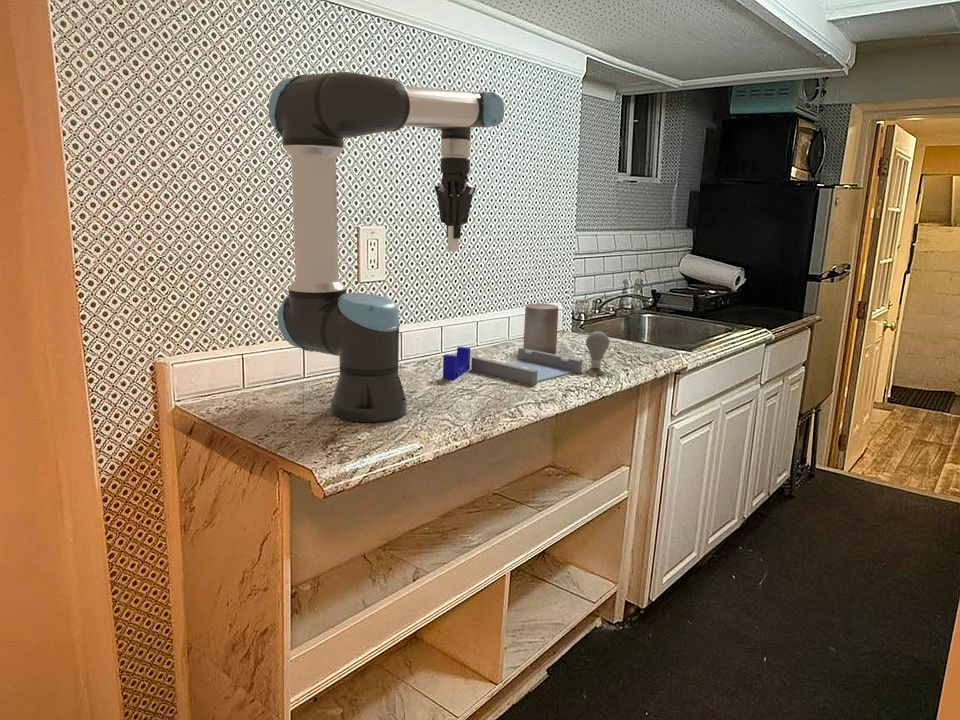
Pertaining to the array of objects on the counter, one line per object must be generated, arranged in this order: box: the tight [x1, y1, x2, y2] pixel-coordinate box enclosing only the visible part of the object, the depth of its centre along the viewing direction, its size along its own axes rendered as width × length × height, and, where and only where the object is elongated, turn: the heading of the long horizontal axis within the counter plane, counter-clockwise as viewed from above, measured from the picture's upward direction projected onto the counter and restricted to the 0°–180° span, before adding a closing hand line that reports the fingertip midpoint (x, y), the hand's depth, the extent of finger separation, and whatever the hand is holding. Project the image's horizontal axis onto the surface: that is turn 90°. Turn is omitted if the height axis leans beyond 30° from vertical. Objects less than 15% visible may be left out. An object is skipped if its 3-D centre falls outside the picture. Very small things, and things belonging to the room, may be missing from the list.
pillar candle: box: [522, 301, 559, 354], centre depth 199 cm, size 10×10×15 cm
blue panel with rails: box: [470, 347, 583, 386], centre depth 176 cm, size 21×20×3 cm
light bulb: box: [585, 330, 610, 370], centre depth 181 cm, size 6×6×10 cm
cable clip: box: [442, 346, 471, 381], centre depth 170 cm, size 12×4×6 cm, turn 163°
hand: (453, 251), depth 179 cm, fingers closed
